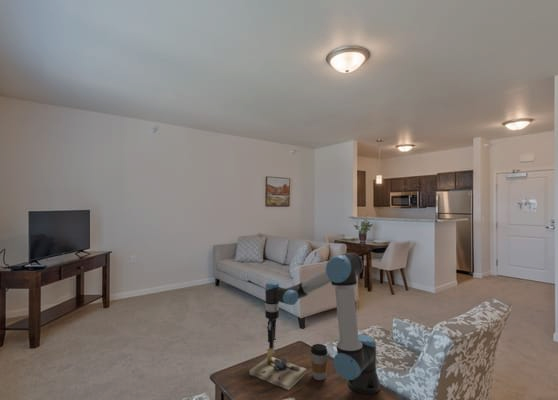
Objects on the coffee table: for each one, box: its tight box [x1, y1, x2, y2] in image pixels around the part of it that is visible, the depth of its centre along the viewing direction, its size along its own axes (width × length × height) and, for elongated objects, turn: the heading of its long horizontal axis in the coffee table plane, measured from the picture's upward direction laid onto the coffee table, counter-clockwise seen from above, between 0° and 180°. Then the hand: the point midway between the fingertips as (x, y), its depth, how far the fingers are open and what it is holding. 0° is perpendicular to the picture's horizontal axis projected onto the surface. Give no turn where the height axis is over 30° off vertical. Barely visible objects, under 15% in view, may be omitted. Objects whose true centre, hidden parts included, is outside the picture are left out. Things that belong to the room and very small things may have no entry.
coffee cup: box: [310, 343, 328, 381], centre depth 150 cm, size 8×8×15 cm
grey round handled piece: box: [266, 348, 290, 370], centre depth 155 cm, size 14×9×7 cm, turn 57°
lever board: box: [248, 356, 308, 391], centre depth 153 cm, size 24×18×4 cm
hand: (271, 352), depth 164 cm, fingers closed
